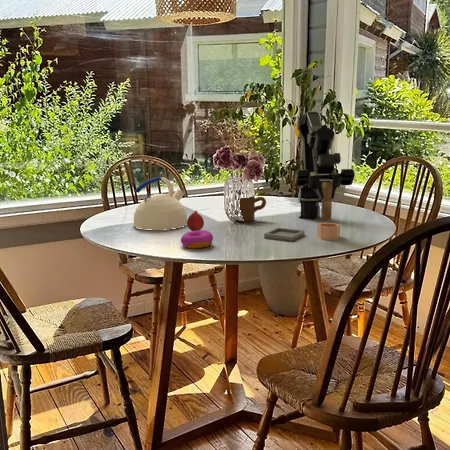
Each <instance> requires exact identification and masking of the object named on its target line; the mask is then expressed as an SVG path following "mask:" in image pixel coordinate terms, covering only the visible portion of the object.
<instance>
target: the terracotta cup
mask: <svg viewBox="0 0 450 450" xmlns="http://www.w3.org/2000/svg"><path fill="white" fill-rule="evenodd" d="M316 225H317V227H316V238H318V239H321V240H327V241H330V240H331V241H332V240H334V241H335V240H338V239H340V238H341V225H340V224H338V223H336V222H320V223H318V224H316Z"/></svg>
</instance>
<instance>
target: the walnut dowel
mask: <svg viewBox="0 0 450 450" xmlns="http://www.w3.org/2000/svg"><path fill="white" fill-rule="evenodd" d="M321 187H322V194H323V199H322V203H321V206H320V212H321V213H320V217H321V218H320V219H321V220H322V221H331V220H332V211H333V210H332V208H333V207H332V206H333V203H332V202H333V199H332V181H321Z"/></svg>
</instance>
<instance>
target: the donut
mask: <svg viewBox="0 0 450 450" xmlns="http://www.w3.org/2000/svg"><path fill="white" fill-rule="evenodd" d="M213 240H214V236H213V234H212V233H211V231H209V230H205V229H203V230H202V229H201V230H198V231H191V230H190V231H188V232H186V233H183V234H182V236H181V238H180V244H182V246H183V247H184V248H186V247H187V248H186V249H190V248H195V249H202V248H206V247H209V246H210V245H212V244H213Z"/></svg>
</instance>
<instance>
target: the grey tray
mask: <svg viewBox="0 0 450 450" xmlns="http://www.w3.org/2000/svg"><path fill="white" fill-rule="evenodd" d="M304 236H305V230H303V229H294V228H285V227H275V228H273V229H271V230H269V231H267V232H265V233H263V238H264V239H267V240H275V241H284V242H291V243H292V242H295V241H297V240H298V239H300V238H302V237H304Z"/></svg>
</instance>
